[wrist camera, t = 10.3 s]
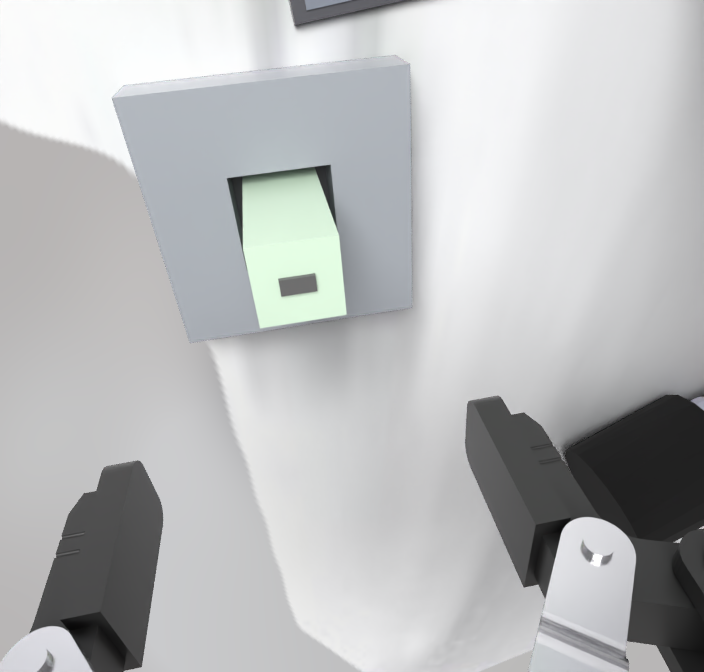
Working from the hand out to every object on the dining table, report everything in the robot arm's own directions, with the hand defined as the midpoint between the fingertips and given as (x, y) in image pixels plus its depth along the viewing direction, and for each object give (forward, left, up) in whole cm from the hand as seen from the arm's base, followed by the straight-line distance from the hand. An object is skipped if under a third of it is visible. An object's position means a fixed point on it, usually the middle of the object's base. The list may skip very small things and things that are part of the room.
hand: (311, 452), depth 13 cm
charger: (0, +2, -21) cm, 21 cm away
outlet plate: (0, +2, -21) cm, 21 cm away
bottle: (-39, +24, -22) cm, 51 cm away
